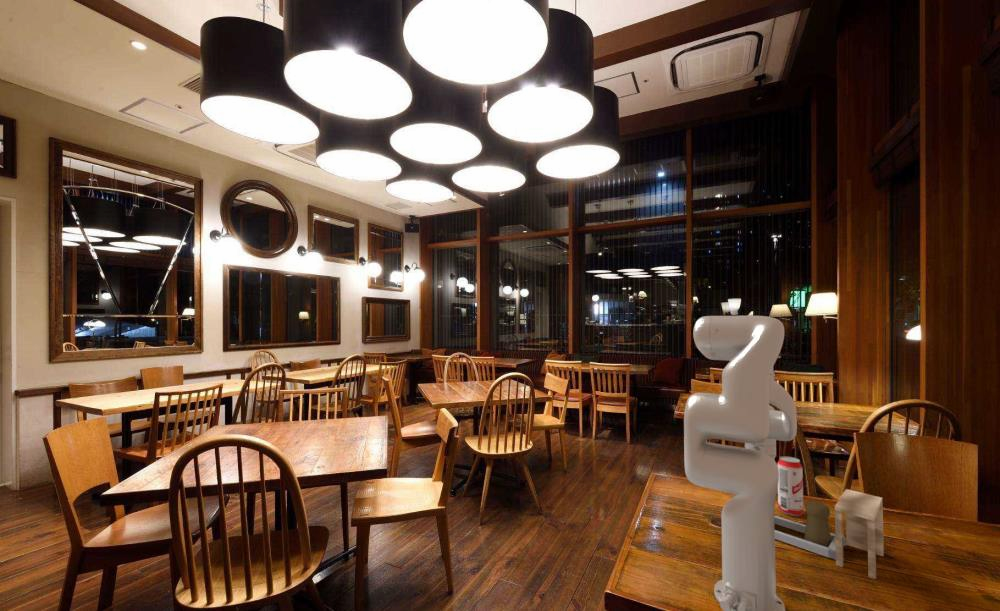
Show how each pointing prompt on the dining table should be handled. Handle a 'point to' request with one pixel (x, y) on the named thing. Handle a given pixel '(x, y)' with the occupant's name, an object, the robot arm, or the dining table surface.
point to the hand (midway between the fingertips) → (761, 513)
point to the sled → (805, 544)
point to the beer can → (790, 486)
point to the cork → (817, 523)
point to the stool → (860, 526)
